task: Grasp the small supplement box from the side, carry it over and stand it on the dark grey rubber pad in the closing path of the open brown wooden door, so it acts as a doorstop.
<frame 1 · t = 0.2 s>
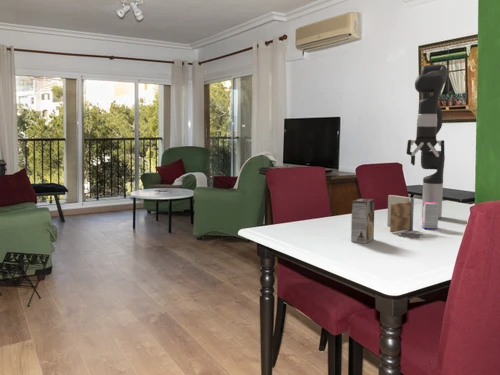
hand: (424, 165, 185), 29 cm above the table, tool pointing down, fingers open, 8 cm apart
door: (401, 217, 192), point 6 cm above the table, hinge at 0.0°
supplement box: (429, 228, 201), on the table
cream upright panel: (410, 230, 197), on the table
pad: (410, 235, 187), on the table
coffee box: (362, 241, 178), on the table
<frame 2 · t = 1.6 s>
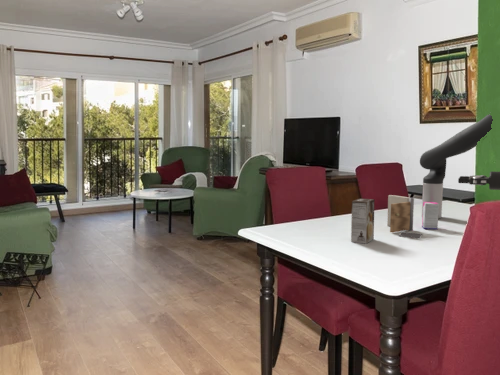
hand: (459, 179, 194), 22 cm above the table, tool horizontal, fingers open, 8 cm apart
nothing on the table moved.
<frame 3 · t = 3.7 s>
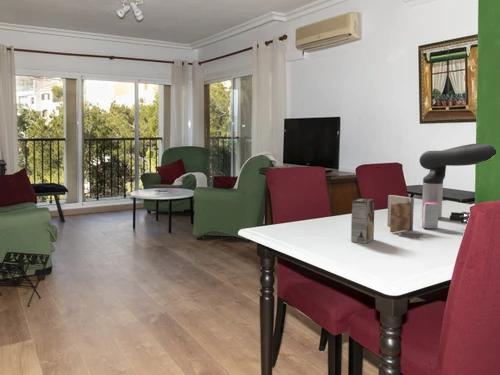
hand: (450, 216, 197), 6 cm above the table, tool horizontal, fingers open, 8 cm apart
nothing on the table moved.
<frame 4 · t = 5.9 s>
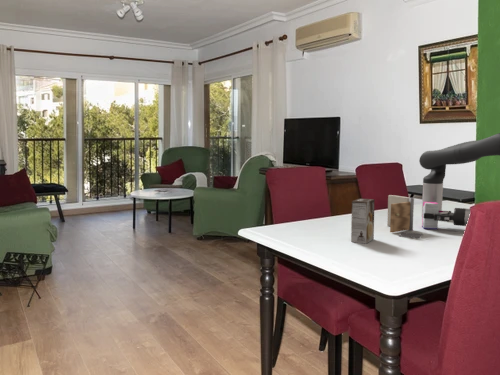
hand: (424, 214, 202), 6 cm above the table, tool horizontal, fingers closed on supplement box, 7 cm apart
supplement box: (429, 228, 201), on the table, touching gripper
everything else where it was.
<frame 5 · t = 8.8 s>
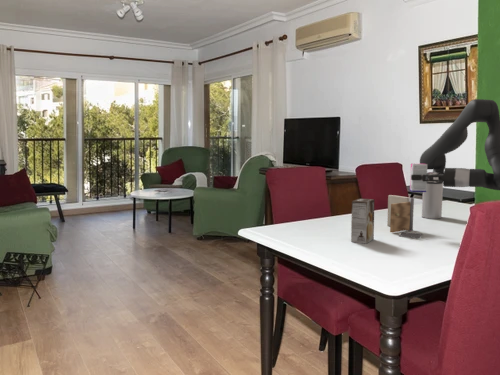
hand: (412, 176, 187), 24 cm above the table, tool horizontal, fingers closed on supplement box, 7 cm apart
supplement box: (418, 191, 187), point 18 cm above the table, touching gripper
everything else where it was.
when the fingers open (7 cm above the table, at t = 11.7 s): supplement box stays where it is, resting on pad.
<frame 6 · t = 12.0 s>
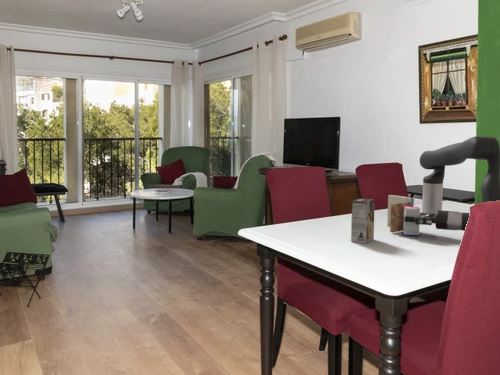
hand: (406, 217, 187), 7 cm above the table, tool horizontal, fingers open, 8 cm apart
supplement box: (410, 235, 187), resting on pad
everything else where it was.
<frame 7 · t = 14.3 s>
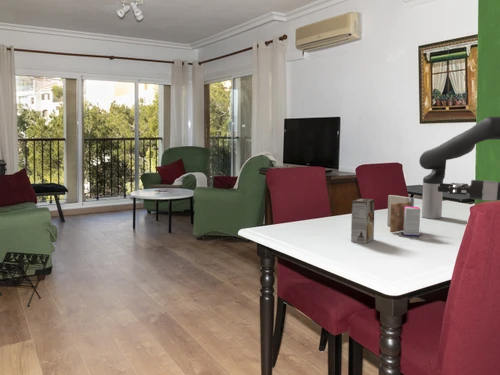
hand: (438, 187, 184), 20 cm above the table, tool horizontal, fingers open, 8 cm apart
nothing on the table moved.
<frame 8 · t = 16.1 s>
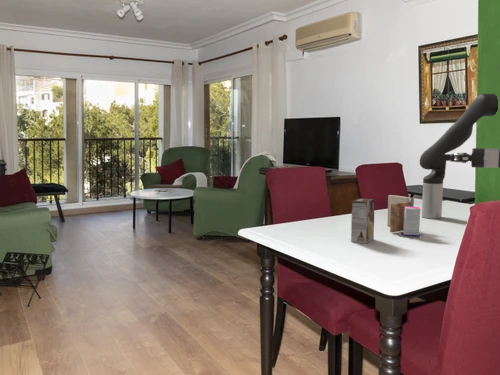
hand: (440, 157, 184), 32 cm above the table, tool horizontal, fingers open, 8 cm apart
nothing on the table moved.
at the end: supplement box inside the target area (0.1 cm from its centre), resting on pad; supplement box tilted 0°; door at +0° (first picture: +0°) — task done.
